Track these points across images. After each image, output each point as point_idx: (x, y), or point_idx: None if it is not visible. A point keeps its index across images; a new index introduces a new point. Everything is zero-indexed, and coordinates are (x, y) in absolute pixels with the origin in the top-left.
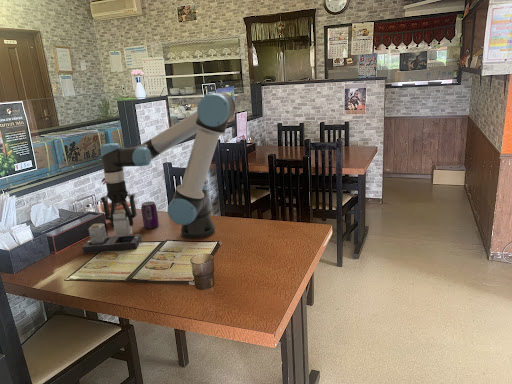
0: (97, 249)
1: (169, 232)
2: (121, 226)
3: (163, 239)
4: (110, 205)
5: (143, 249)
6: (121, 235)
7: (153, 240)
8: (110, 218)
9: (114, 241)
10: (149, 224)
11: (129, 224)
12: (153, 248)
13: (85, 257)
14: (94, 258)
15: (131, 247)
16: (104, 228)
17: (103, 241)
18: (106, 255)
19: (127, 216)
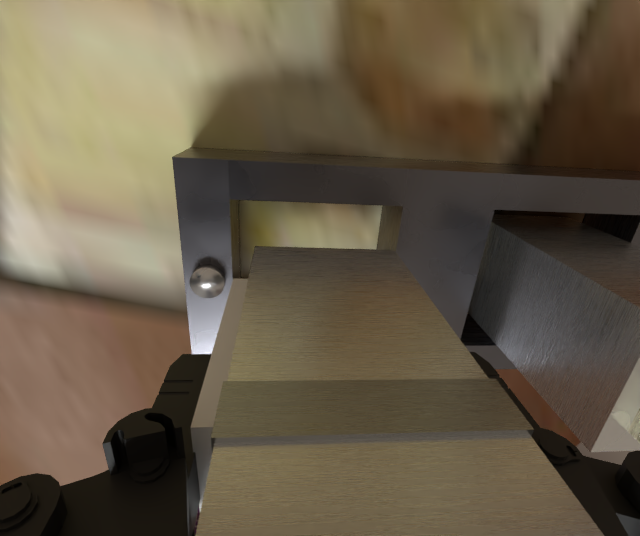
0: (545, 169)
1: (19, 432)
2: (335, 315)
3: (4, 314)
4: None
5: (112, 122)
6: (338, 253)
7: (95, 312)
8: (586, 473)
9: (410, 249)
10: (195, 533)
11: (212, 364)
12: (7, 120)
13: (629, 79)
14: (556, 22)
15: (232, 153)
16: (558, 388)
17: (515, 245)
18: (452, 69)
19: (187, 508)
